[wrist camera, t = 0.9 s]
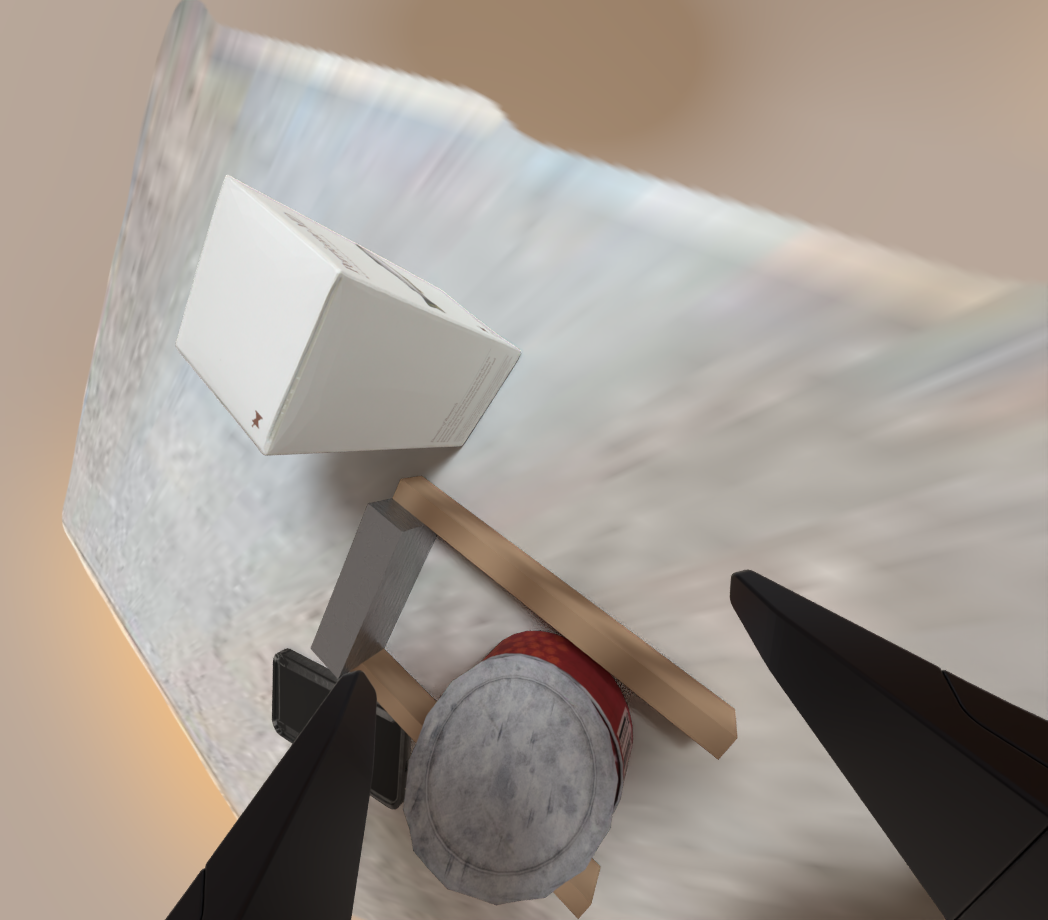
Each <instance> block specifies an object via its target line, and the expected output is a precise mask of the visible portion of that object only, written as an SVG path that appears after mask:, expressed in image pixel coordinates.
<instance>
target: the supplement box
mask: <svg viewBox="0 0 1048 920" xmlns="http://www.w3.org/2000/svg"><path fill="white" fill-rule="evenodd" d="M175 345H176V348H177V350H178V351H179V353H180V354H181V355H182V356H183V358H184V359H185V360H186V361H187V362H188V363H189V365H190V366H191V367H192V368H193V369H194V371H195V372H196V373H197V374H198V376H199V377H200V378H201V379H202V380H203V382H204V383H205V384H206V385H207V386H208V388H209V389H210V390H211V391H212V392H213V394H214V395H215V397H216V398H217V399H218V401H219V402H220V403H221V404H222V405H223V406H224V407H225V408H226V410H227V411H228V412H229V413H230V414H231V416H232V417H233V418H234V419H235V420H236V422H237V423H238V424H239V425H240V426H241V428H242V429H243V430H244V431H245V433H246V434H247V435H248V437H249V438H250V439H251V440H252V441H253V442H254V444H255V445H256V446H257V448H258V449H259V451H260V452H261V453H262V454H263V455H289V454H309V453H330V452H351V451H372V450H394V449H413V448H434V447H455V446H462V445H463V444H464V442H465V441H466V439H467V438H468V436H469V435H470V433H471V432H472V430H473V429H474V427H475V426H476V424H477V422H478V421H479V419H480V418H481V416H482V415H483V413H484V412H485V410H486V409H487V407H488V405H489V404H490V402H491V401H492V399H493V398H494V396H495V395H496V393H497V391H498V390H499V388H500V387H501V385H502V384H503V382H504V381H505V379H506V377H507V376H508V374H509V372H510V371H511V370H512V368H513V366H514V365H515V363H516V362H517V360H518V358H519V356H520V354H521V350H520V349H519V348H517V347H516V346H514V345H513V344H511V343H510V342H508V341H507V340H505V339H504V338H503V337H501V336H500V335H498V334H497V333H495V332H494V331H493V330H492V329H490V328H489V327H488V326H486V325H485V324H484V323H482V322H481V321H480V320H479V319H477V318H476V317H475V316H473V315H472V314H471V313H470V312H468V311H467V310H466V309H465V308H463V307H462V306H461V305H460V304H458V303H457V302H456V301H455V300H454V299H452V298H451V297H450V296H449V295H448V294H447V293H445V292H444V291H443V290H441V289H439V288H437V287H435V286H434V285H432V284H430V283H428V282H426V281H425V280H423V279H421V278H419V277H417V276H415V275H414V274H412V273H410V272H408V271H406V270H405V269H403V268H401V267H399V266H397V265H395V264H394V263H392V262H390V261H388V260H386V259H384V258H383V257H381V256H379V255H377V254H375V253H373V252H372V251H370V250H368V249H366V248H364V247H362V246H360V245H359V244H357V243H355V242H353V241H351V240H349V239H347V238H346V237H344V236H342V235H340V234H338V233H336V232H334V231H332V230H330V229H328V228H326V227H325V226H323V225H321V224H319V223H317V222H315V221H313V220H311V219H309V218H307V217H306V216H304V215H302V214H300V213H298V212H296V211H294V210H293V209H291V208H289V207H287V206H285V205H283V204H281V203H280V202H278V201H276V200H274V199H272V198H270V197H268V196H266V195H265V194H263V193H261V192H259V191H257V190H255V189H253V188H252V187H250V186H248V185H246V184H244V183H242V182H240V181H239V180H237V179H235V178H233V177H231V176H229V175H227V176H225V179H224V182H223V185H222V188H221V191H220V194H219V197H218V200H217V203H216V206H215V210H214V213H213V216H212V219H211V223H210V226H209V230H208V233H207V236H206V240H205V243H204V246H203V249H202V253H201V256H200V259H199V263H198V266H197V270H196V273H195V277H194V280H193V284H192V287H191V291H190V294H189V298H188V301H187V305H186V308H185V312H184V316H183V319H182V323H181V326H180V330H179V333H178V337H177V340H176V342H175Z"/></svg>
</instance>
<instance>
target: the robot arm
mask: <svg viewBox="0 0 1048 920" xmlns="http://www.w3.org/2000/svg"><path fill="white" fill-rule="evenodd" d="M730 601H731V604H732V606H733V608H734V610H735V611H736V613H737V615H738V617H739V618H740V620H741V622H742V624H743V625H744V627H745V629H746V631H747V632H748V634H749V636H750V638H751V639H752V641H753V643H754V645H755V646H756V648H757V650H758V652H759V653H760V655H761V657H762V659H763V660H764V662H765V663H766V665H767V667H768V668H769V670H770V671H771V673H772V674H773V676H774V677H775V679H776V680H777V682H778V683H779V684H780V686H781V687H782V689H783V690H784V691H785V693H786V694H787V696H788V697H789V699H790V700H791V701H792V703H793V704H794V706H795V707H796V708H797V710H798V711H799V713H800V714H801V715H802V717H803V718H804V720H805V721H806V722H807V724H808V725H809V727H810V728H811V730H812V731H813V732H814V734H815V735H816V737H817V738H818V739H819V741H820V742H821V744H822V745H823V746H824V748H825V749H826V751H827V752H828V753H829V755H830V756H831V758H832V759H833V761H834V762H835V763H836V765H837V766H838V768H839V769H840V770H841V772H842V773H843V775H844V776H845V777H846V779H847V780H848V782H849V783H850V785H851V786H852V787H853V789H854V790H855V792H856V793H857V794H858V796H859V797H860V799H861V800H862V801H863V803H864V804H865V806H866V807H867V808H868V810H869V811H870V813H871V814H872V816H873V817H874V818H875V820H876V821H877V823H878V824H879V825H880V827H881V828H882V830H883V831H884V832H885V834H886V835H887V837H888V838H889V839H890V841H891V842H892V844H893V845H894V847H895V848H896V849H897V851H898V852H899V854H900V855H901V856H902V858H903V859H904V861H905V862H906V863H907V865H908V866H909V868H910V869H911V871H912V872H913V873H914V875H915V876H916V878H917V879H918V880H919V882H920V883H921V885H922V886H923V887H924V889H925V890H926V892H927V893H928V894H929V896H930V897H931V899H932V900H933V902H934V903H935V904H936V906H937V907H938V909H939V910H940V911H941V913H942V914H943V916H944V917H945V918H946V920H1048V721H1047V720H1045V719H1043V718H1041V717H1039V716H1037V715H1035V714H1033V713H1030V712H1028V711H1026V710H1024V709H1022V708H1020V707H1018V706H1015V705H1013V704H1011V703H1009V702H1007V701H1005V700H1003V699H1001V698H999V697H997V696H995V695H993V694H991V693H989V692H987V691H985V690H983V689H981V688H979V687H977V686H975V685H973V684H971V683H969V682H967V681H965V680H963V679H961V678H960V677H958V676H956V675H954V674H952V673H950V672H948V671H946V670H941V669H940V668H939V667H938V666H936V665H934V664H932V663H930V662H928V661H926V660H924V659H922V658H921V657H919V656H917V655H915V654H913V653H911V652H909V651H907V650H905V649H903V648H901V647H899V646H897V645H895V644H893V643H892V642H890V641H888V640H886V639H884V638H882V637H880V636H878V635H876V634H874V633H872V632H870V631H868V630H866V629H864V628H863V627H861V626H859V625H857V624H855V623H853V622H851V621H849V620H847V619H845V618H843V617H841V616H839V615H837V614H835V613H833V612H832V611H830V610H828V609H826V608H824V607H822V606H820V605H818V604H816V603H814V602H812V601H810V600H808V599H806V598H804V597H803V596H801V595H799V594H797V593H795V592H793V591H791V590H789V589H787V588H785V587H783V586H781V585H779V584H777V583H775V582H774V581H772V580H770V579H768V578H766V577H764V576H762V575H760V574H758V573H756V572H754V571H752V570H743V571H739V572H735V573H733V574H732V576H731V585H730ZM376 709H377V695H376V691H375V688H374V687H373V685H372V684H371V682H370V681H369V679H368V678H367V676H366V675H365V673H364V672H363V671H361V670H357V671H353V672H349V673H346V674H344V675H343V676H342V677H341V678H340V679H339V680H338V682H337V683H336V685H335V686H334V687H333V689H332V690H331V691H330V693H329V694H328V696H327V697H326V698H325V700H324V701H323V703H322V704H321V705H320V707H319V708H318V709H317V711H316V712H315V714H314V715H313V716H312V718H311V719H310V721H309V722H308V723H307V725H306V726H305V727H304V729H303V730H302V732H301V733H300V734H299V736H298V737H297V739H296V740H295V741H294V743H293V744H292V745H291V747H290V748H289V750H288V751H287V752H286V754H285V755H284V757H283V758H282V759H281V761H280V762H279V763H278V765H277V766H276V768H275V769H274V770H273V772H272V773H271V775H270V776H269V777H268V779H267V780H266V781H265V783H264V784H263V786H262V787H261V788H260V790H259V791H258V793H257V794H256V795H255V797H254V798H253V799H252V801H251V802H250V804H249V805H248V806H247V808H246V809H245V811H244V812H243V813H242V815H241V816H240V817H239V819H238V820H237V822H236V823H235V824H234V826H233V827H232V829H231V830H230V832H229V833H228V834H227V836H226V837H225V838H224V840H223V841H222V842H221V844H220V845H219V847H218V848H217V849H216V851H215V852H214V853H213V855H212V856H211V858H210V859H209V860H208V862H207V864H206V866H205V868H204V869H202V870H201V871H200V873H199V874H198V875H197V877H196V878H195V880H194V881H193V882H192V884H191V885H190V886H189V888H188V889H187V891H186V892H185V894H184V895H183V896H182V897H181V899H180V900H179V902H178V903H177V904H176V906H175V907H174V908H173V910H172V911H171V912H170V914H169V915H168V916H167V918H166V919H165V920H351V916H352V910H353V903H354V896H355V890H356V883H357V876H358V870H359V863H360V856H361V850H362V843H363V836H364V830H365V823H366V817H367V810H368V803H369V797H370V790H371V783H372V775H373V763H374V745H375V727H376Z"/></svg>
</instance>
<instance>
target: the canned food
mask: <svg viewBox="0 0 1048 920" xmlns="http://www.w3.org/2000/svg"><path fill="white" fill-rule="evenodd" d="M632 744H633V729H632V721H631V717H630V712H629V708H628V706H627V703H626V701H625V698H624V696H623V694H622V691H621V689H620V688H619V686H618V685H617V683H616V681H615V680H614V678H613V677H612V675H611V674H610V673H609V672H608V671H607V670H606V669H604V668H603V667H602V666H601V665H599V664H598V663H597V662H596V661H595V660H593V659H592V658H591V657H590V656H588V655H587V654H586V653H585V652H583V651H582V650H581V649H580V648H578V647H577V646H576V645H575V644H573V643H572V642H571V641H570V640H568V639H567V638H565V637H562V636H560V635H557V634H555V633H549V632H544V631H524V632H521V633H517V634H513V635H511V636H510V637H508V638H506V639H504V640H502V641H501V642H500V643H499V644H498V645H497V646H496V647H495V648H494V649H493V650H492V651H491V652H490V653H489V654H488V655H487V656H486V657H485V658H484V659H483V660H482V661H481V662H480V663H479V664H477V665H476V666H475V667H473V668H472V669H470V670H469V671H467V672H466V673H464V674H462V675H461V676H459V677H458V678H456V679H455V680H453V681H452V682H451V683H450V685H449V686H448V687H447V689H446V690H445V692H444V693H443V694H442V696H441V697H440V699H439V700H438V701H437V703H436V704H435V705H434V706H433V708H432V709H431V710H430V712H429V713H428V714H427V715H426V718H425V721H424V724H423V726H422V729H421V732H420V735H419V738H418V740H417V742H416V745H415V747H414V749H413V752H412V754H411V756H410V759H409V764H408V773H407V782H406V791H405V799H404V807H403V811H404V814H405V817H406V820H407V823H408V826H409V829H410V834H411V840H412V846H413V851H414V852H415V853H416V854H417V856H418V857H419V858H420V859H421V860H422V862H423V863H424V864H425V865H426V866H427V868H428V869H429V870H430V871H431V872H432V873H433V874H434V875H435V876H436V877H437V878H438V880H439V881H440V882H441V883H442V884H443V885H444V886H445V887H446V888H447V889H449V890H452V891H456V892H459V893H462V894H465V895H469V896H472V897H475V898H477V899H480V900H483V901H486V902H489V903H491V904H494V905H499V904H505V903H510V902H516V901H521V900H530V899H538V898H545V897H547V896H548V895H549V894H551V893H552V892H553V891H555V890H556V889H557V888H559V887H560V886H561V885H563V884H564V883H565V882H567V881H568V880H570V879H572V878H573V877H575V876H576V875H578V874H580V873H581V872H583V871H584V870H585V869H586V867H587V866H588V864H589V862H590V861H591V859H592V857H593V855H594V854H595V852H596V850H597V848H598V847H599V845H600V844H601V842H602V840H603V839H604V837H605V836H606V834H607V833H608V831H609V830H610V828H611V821H612V815H613V814H614V811H615V809H616V807H617V805H618V803H619V801H620V799H621V794H622V788H623V783H624V779H625V775H626V770H627V766H628V762H629V758H630V754H631V749H632Z"/></svg>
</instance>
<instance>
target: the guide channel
mask: <svg viewBox="0 0 1048 920" xmlns="http://www.w3.org/2000/svg"><path fill="white" fill-rule="evenodd" d="M393 499H394V500H395V501H396V502H398V503H399V504H400V505H401V506H403V507H404V508H405V509H406V510H407V511H409V512H410V513H411V514H412V515H414V516H415V517H416V518H417V519H419V520H420V521H421V522H422V523H424V524H425V525H426V526H427V527H429V528H430V529H431V530H432V531H434V532H435V533H436V534H437V535H439V536H440V537H441V538H442V539H444V540H445V541H446V542H447V543H449V544H450V545H451V546H452V547H454V548H455V549H456V550H457V551H459V552H460V553H461V554H462V555H464V556H465V557H466V558H467V559H469V560H470V561H471V562H472V563H474V564H475V565H476V566H477V567H479V568H480V569H481V570H482V571H484V572H485V573H486V574H487V575H489V576H490V577H491V578H492V579H494V580H495V581H496V582H497V583H499V584H500V585H501V586H502V587H503V588H505V589H506V590H507V591H508V592H510V593H511V594H512V595H513V596H515V597H516V598H517V599H518V600H520V601H521V602H522V603H523V604H525V605H526V606H527V607H528V608H530V609H531V610H532V611H533V612H535V613H536V614H537V615H538V616H540V617H541V618H542V619H543V620H545V621H546V622H547V623H548V624H550V625H551V626H552V627H553V628H555V629H556V630H557V631H558V632H560V633H561V634H562V635H563V636H565V637H566V638H567V639H568V640H570V641H571V642H572V643H573V644H575V645H576V646H577V647H578V648H580V649H581V650H582V651H583V652H585V653H586V654H587V655H588V656H590V657H591V658H592V659H593V660H595V661H596V662H597V663H598V664H599V665H601V666H602V667H603V668H604V669H606V670H607V671H608V672H609V673H611V674H612V675H613V676H614V677H616V678H617V679H618V680H619V681H621V682H622V683H623V684H624V685H626V686H627V687H628V688H629V689H631V690H632V691H633V692H634V693H636V694H637V695H638V696H639V697H641V698H642V699H643V700H644V701H646V702H647V703H648V704H649V705H651V706H652V707H653V708H654V709H656V710H657V711H658V712H659V713H661V714H662V715H663V716H664V717H666V718H667V719H668V720H669V721H671V722H672V723H673V724H674V725H676V726H677V727H678V728H679V729H681V730H682V731H683V732H684V733H686V734H687V735H688V736H689V737H691V738H692V739H693V740H694V741H695V742H697V743H698V744H699V745H700V746H702V747H703V748H704V749H705V750H707V751H708V752H709V753H710V754H712V755H713V756H714V757H715V758H717V759H718V760H719V758H720V757H721V756H722V755H723V754H724V753H725V752H726V751H727V749H728V748H729V747H730V746H731V745H732V744H733V743H734V741H735V740H736V739H737V727H736V716H735V709H734V708H733V707H731V706H730V705H729V704H727V703H726V702H725V701H723V700H722V699H721V698H719V697H718V696H716V695H715V694H714V693H712V692H711V691H710V690H708V689H707V688H706V687H704V686H703V685H702V684H700V683H699V682H698V681H696V680H695V679H694V678H692V677H691V676H690V675H688V674H687V673H686V672H684V671H683V670H682V669H680V668H679V667H678V666H676V665H675V664H674V663H672V662H671V661H670V660H668V659H667V658H665V657H664V656H663V655H661V654H660V653H659V652H657V651H656V650H655V649H653V648H652V647H651V646H649V645H648V644H647V643H645V642H644V641H643V640H641V639H640V638H639V637H637V636H636V635H635V634H633V633H632V632H631V631H629V630H628V629H627V628H625V627H624V626H623V625H621V624H620V623H619V622H617V621H616V620H614V619H613V618H612V617H610V616H609V615H608V614H606V613H605V612H604V611H602V610H601V609H600V608H598V607H597V606H596V605H594V604H593V603H592V602H590V601H589V600H588V599H586V598H585V597H584V596H582V595H581V594H580V593H578V592H577V591H576V590H574V589H573V588H572V587H570V586H569V585H568V584H566V583H565V582H563V581H562V580H561V579H559V578H558V577H557V576H555V575H554V574H553V573H551V572H550V571H549V570H547V569H546V568H545V567H543V566H542V565H541V564H539V563H538V562H537V561H535V560H534V559H533V558H531V557H530V556H529V555H527V554H526V553H525V552H523V551H522V550H521V549H519V548H518V547H516V546H515V545H514V544H512V543H511V542H510V541H508V540H507V539H506V538H504V537H503V536H502V535H500V534H499V533H498V532H496V531H495V530H494V529H492V528H491V527H490V526H488V525H487V524H486V523H484V522H483V521H482V520H480V519H479V518H478V517H476V516H475V515H474V514H472V513H471V512H470V511H468V510H467V509H465V508H464V507H463V506H461V505H460V504H459V503H457V502H456V501H455V500H453V499H452V498H451V497H449V496H448V495H447V494H445V493H444V492H443V491H441V490H440V489H439V488H437V487H436V486H435V485H433V484H432V483H431V482H429V481H428V480H427V479H425V478H424V477H423V476H416V477H410V478H403V479H400V481H399V484H398V486H397V489H396V491H395V494H394V496H393ZM357 670H361V671H363V672H364V673H365V675H366V676H367V678H368V679H369V681H370V682H371V684H372V685H373V687H374V688H375V691H376V695H377V702H378V703H379V704H380V705H381V706H382V707H383V708H384V709H385V710H386V711H387V712H388V714H389V715H390V716H391V717H392V718H393V719H394V720H395V721H396V722H397V723H398V724H399V725H400V727H401V728H402V729H403V730H404V731H405V732H406V733H407V734H408V735H409V736H410V737H411V738H412V740H413V741H414V742H415V743H416V742H417V740H418V738H419V735H420V732H421V729H422V726H423V724H424V721H425V718H426V715H427V714H428V713H429V712H430V710H431V709H432V708H433V706H434V705H435V704H436V703H437V702H436V701H435V700H434V699H433V698H432V697H431V696H430V695H429V694H428V693H427V692H426V691H425V690H424V689H423V688H422V687H421V686H420V685H419V684H418V683H417V682H416V681H415V680H414V679H413V677H412V676H411V675H410V674H409V673H408V672H407V671H406V670H405V669H404V668H403V667H402V666H401V665H400V664H399V663H398V662H397V661H396V660H395V659H394V658H393V657H392V656H391V655H390V654H389V653H388V652H387V651H386V650H385V649H383V650H381V651H380V652H378V653H377V654H375V655H374V656H372V657H371V658H369V659H368V660H366V661H365V662H363V663H362V664H360V665H359V666H357V667H356V668H354V669H353V670H351V671H350V672H353V671H357ZM599 871H600V866H599V865H598V864H597V863H596V862H595V861H594V860H593V859H591V861H590V862H589V864H588V866H587V867H586V869H585V870H584V871H583V872H581V873H580V874H578V875H576V876H575V877H573V878H572V879H570V880H568V881H567V882H565V883H564V884H563V885H561V886H560V887H559V888H557V889H556V890H555V891H553V892H554V893H555V895H556V896H557V897H558V898H559V899H560V900H561V901H562V902H563V903H564V904H565V905H566V907H567V908H568V909H569V910H570V911H571V912H572V913H573V914H574V915H575V916H576V917H577V918H578V919H579V918H580V916H581V915H582V914H583V913H584V912H585V911H586V910H587V908H588V907H589V906H590V905H591V903H592V899H593V895H594V891H595V887H596V883H597V879H598V875H599Z"/></svg>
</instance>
